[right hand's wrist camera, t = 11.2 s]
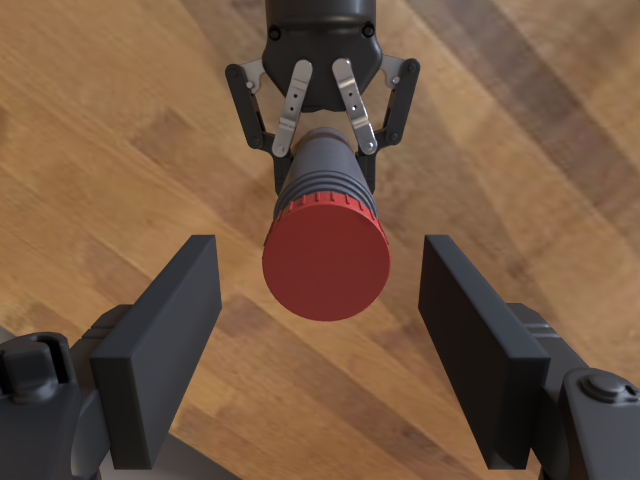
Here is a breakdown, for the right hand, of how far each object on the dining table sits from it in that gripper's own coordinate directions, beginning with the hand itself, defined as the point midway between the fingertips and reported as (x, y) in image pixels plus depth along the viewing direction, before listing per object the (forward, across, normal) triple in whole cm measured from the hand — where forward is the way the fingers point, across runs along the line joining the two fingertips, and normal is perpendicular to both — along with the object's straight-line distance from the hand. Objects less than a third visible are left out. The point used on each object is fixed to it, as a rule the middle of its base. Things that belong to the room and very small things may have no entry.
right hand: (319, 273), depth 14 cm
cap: (+1, 0, 0) cm, 1 cm away
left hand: (+20, 0, -3) cm, 20 cm away
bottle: (+26, 0, 0) cm, 26 cm away
